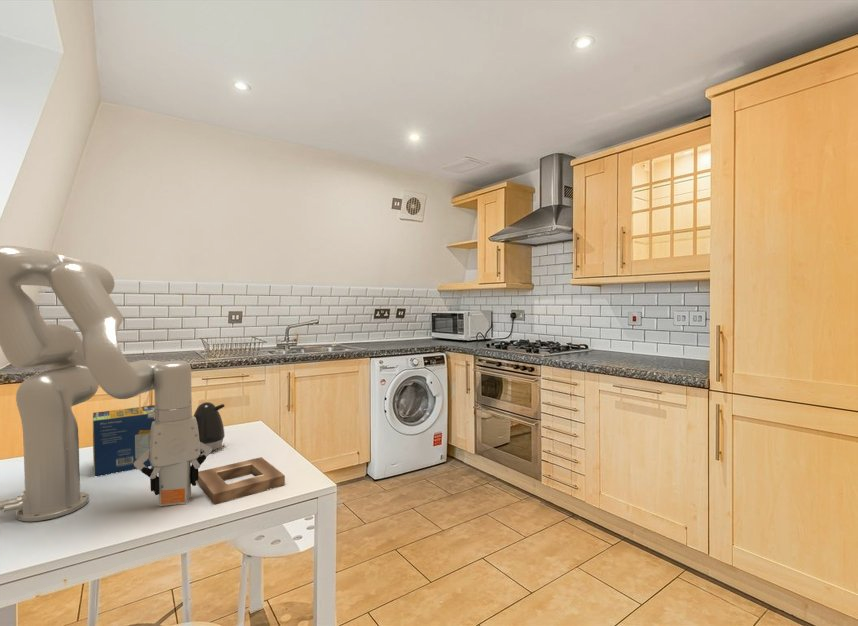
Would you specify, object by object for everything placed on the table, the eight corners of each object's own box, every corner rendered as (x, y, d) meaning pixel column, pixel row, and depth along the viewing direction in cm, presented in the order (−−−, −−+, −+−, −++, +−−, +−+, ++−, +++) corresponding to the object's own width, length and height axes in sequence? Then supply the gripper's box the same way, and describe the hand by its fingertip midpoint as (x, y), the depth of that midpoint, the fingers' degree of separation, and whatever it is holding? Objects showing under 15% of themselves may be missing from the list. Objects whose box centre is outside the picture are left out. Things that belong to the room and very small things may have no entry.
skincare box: (158, 507, 101) (157, 456, 101) (163, 499, 105) (162, 449, 105) (187, 504, 103) (186, 453, 103) (191, 496, 107) (190, 447, 107)
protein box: (94, 465, 127) (92, 412, 126) (156, 454, 136) (155, 404, 135) (93, 477, 118) (92, 420, 118) (160, 464, 128) (159, 411, 127)
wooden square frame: (213, 504, 103) (213, 493, 103) (196, 481, 116) (196, 471, 116) (284, 484, 114) (284, 475, 114) (261, 465, 127) (261, 456, 127)
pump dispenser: (221, 454, 136) (220, 405, 136) (184, 456, 134) (183, 407, 133) (228, 443, 146) (227, 397, 146) (194, 445, 144) (193, 399, 143)
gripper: (131, 424, 95) (133, 505, 96) (217, 411, 106) (219, 483, 107) (127, 417, 101) (129, 493, 101) (209, 405, 112) (210, 474, 113)
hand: (175, 488), depth 104 cm, fingers closed on skincare box, 7 cm apart
